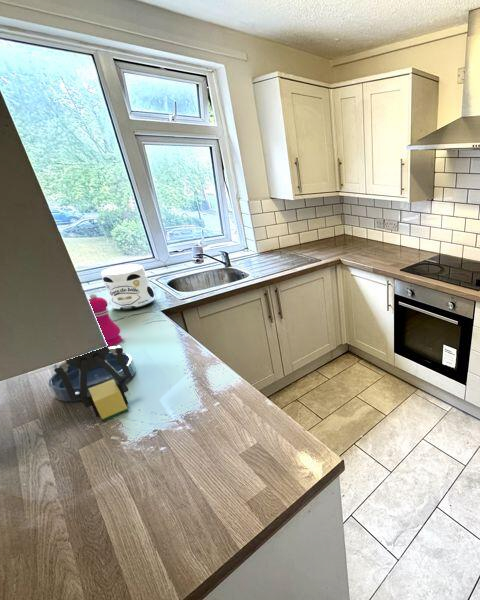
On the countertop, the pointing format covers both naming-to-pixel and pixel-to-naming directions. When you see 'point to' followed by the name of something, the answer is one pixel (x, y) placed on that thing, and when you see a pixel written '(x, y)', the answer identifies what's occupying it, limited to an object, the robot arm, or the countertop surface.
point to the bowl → (89, 376)
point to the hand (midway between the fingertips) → (111, 407)
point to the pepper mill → (105, 320)
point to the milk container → (127, 287)
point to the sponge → (108, 400)
